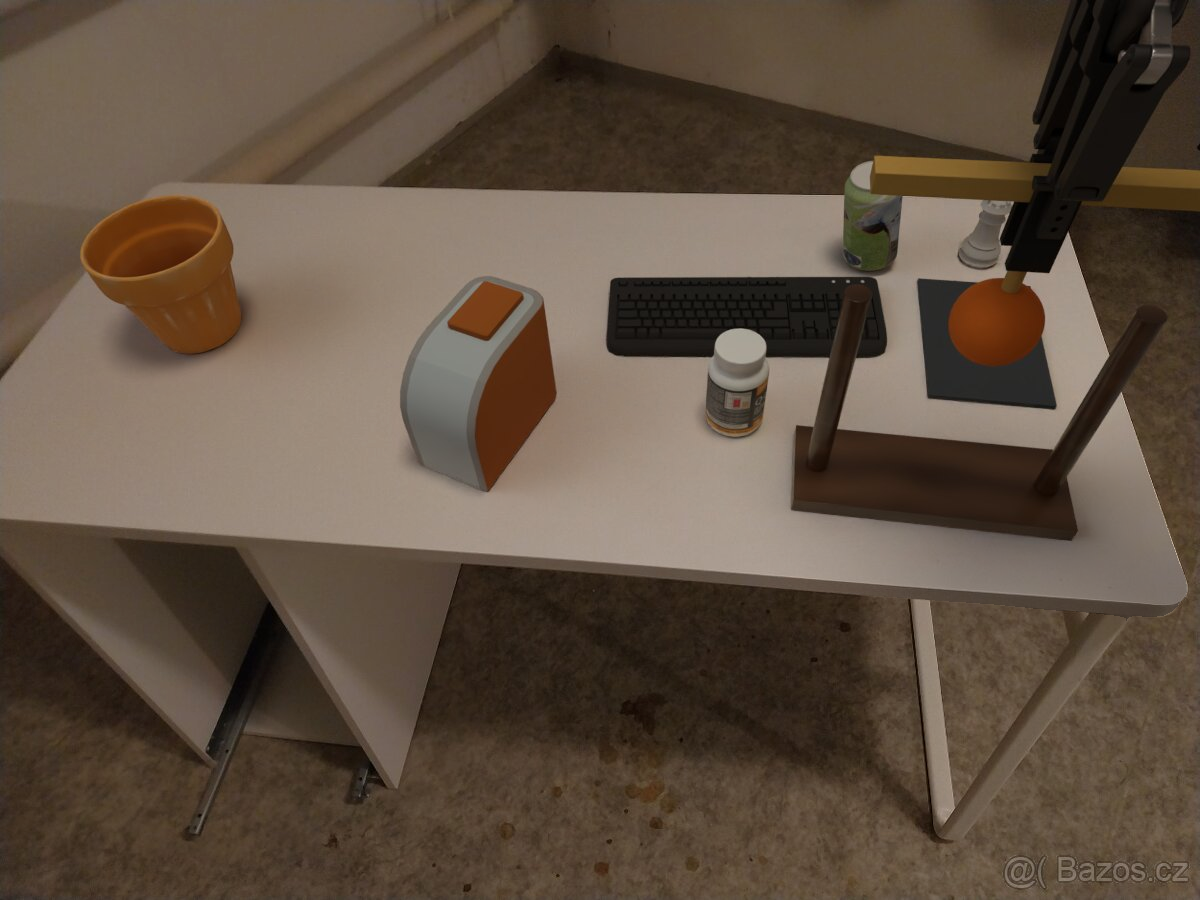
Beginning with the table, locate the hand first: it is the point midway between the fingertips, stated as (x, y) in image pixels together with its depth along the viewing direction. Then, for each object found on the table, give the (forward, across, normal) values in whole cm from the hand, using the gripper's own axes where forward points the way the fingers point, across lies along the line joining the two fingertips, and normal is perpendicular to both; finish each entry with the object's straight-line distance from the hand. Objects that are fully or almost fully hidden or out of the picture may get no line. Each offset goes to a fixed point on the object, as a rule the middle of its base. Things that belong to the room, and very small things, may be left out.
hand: (1024, 255), depth 56 cm
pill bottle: (+26, -6, -18) cm, 33 cm away
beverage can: (+26, -32, -5) cm, 42 cm away
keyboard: (+26, -20, -18) cm, 38 cm away
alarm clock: (+26, -2, -42) cm, 50 cm away
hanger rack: (+26, 0, 0) cm, 26 cm away
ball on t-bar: (+9, 0, 0) cm, 9 cm away
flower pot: (+26, -12, -79) cm, 84 cm away
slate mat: (+26, -20, +7) cm, 34 cm away
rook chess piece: (+26, -34, +8) cm, 44 cm away
